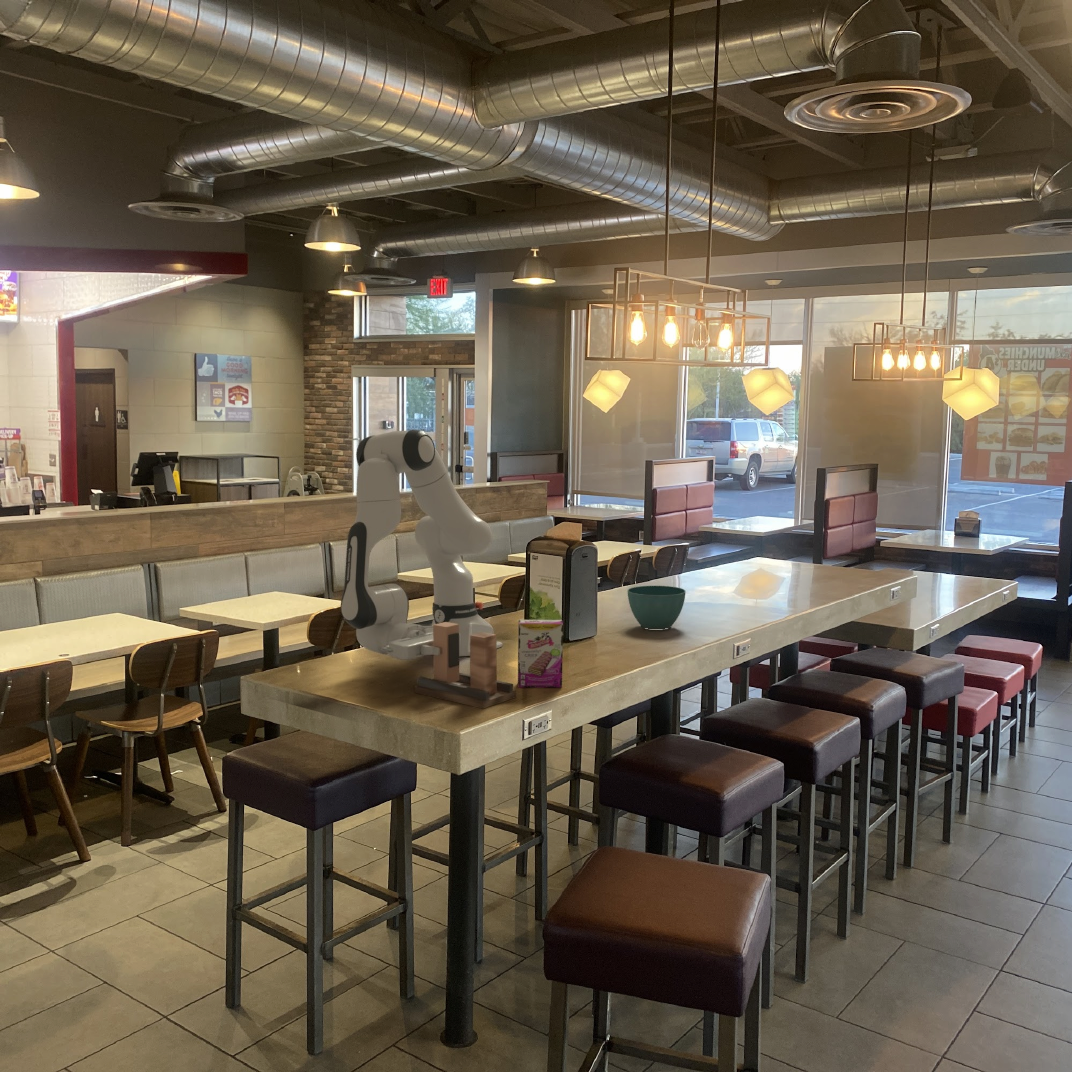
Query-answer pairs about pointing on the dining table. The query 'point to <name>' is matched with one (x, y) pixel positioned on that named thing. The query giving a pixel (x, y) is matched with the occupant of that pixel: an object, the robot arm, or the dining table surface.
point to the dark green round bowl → (656, 605)
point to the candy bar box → (540, 653)
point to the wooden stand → (473, 678)
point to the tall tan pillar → (446, 652)
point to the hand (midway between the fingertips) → (448, 649)
